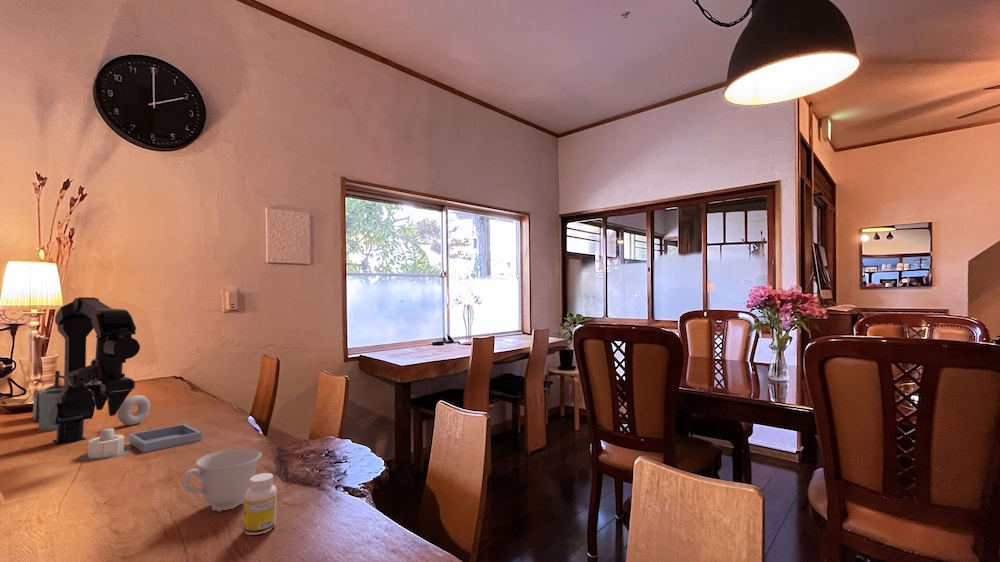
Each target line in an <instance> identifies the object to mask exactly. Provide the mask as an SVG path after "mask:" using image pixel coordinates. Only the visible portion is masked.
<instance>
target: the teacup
mask: <svg viewBox="0 0 1000 562" xmlns="http://www.w3.org/2000/svg"><path fill="white" fill-rule="evenodd" d="M262 456H263V453H262V452H261V451H260V450H259V449H256V448H251V447H250V448H249V447H241V448H240V447H238V448H229V449H223V450H218V451H215V452H212V453H211V452H210V453H208V454H206V455H203V456H202V457H200V458H198V459H197V460H196V461H195V464H194V465H195V467H197V468H191V469H189V470H187V471H186V472H185V473H184V475H183V477H182V479H181V486H182V487H183V489H184V491H186V492H188V493H193V494H194V493H198V494H201V495H202V498H203V499H204V501H205V502H206V503H208V504H211V507H212V509H216V510H220V509H228V508H232V507H235V506H238V505H239V504H241V503H242V502H243V503H244V499H245V494H246V492H247V491H248V490H249V489H250V487H249V483H250V478H251V477H252V476H255V475H256V471H257V465H258V461H259V459H260V458H261V457H262ZM193 475H195V478H196V479H198V480H200V486H201V487H200V488H199V487H193V486H191V485H190V484H189V480H190V478H191V476H193ZM212 509H211V510H212Z"/></svg>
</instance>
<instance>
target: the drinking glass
mask: <svg viewBox="0 0 1000 562" xmlns="http://www.w3.org/2000/svg"><path fill="white" fill-rule="evenodd" d="M63 389H64V388H61V389H51V390H45V389H44V390H45V391H42V390H40V391H41V392H39V408H40V409H39V410H40V411H39V415H40V417H39V422H38V430H39V431H41V430H43V432H47V431H48V432H50V431H49V430H52V431H57V425H53V424H51V423H49V414H50V412H51V410H52V408H53V406H54V404H56V398H57V396H58V395H59V394H60V392H61V391H62V390H63ZM58 419H60V418H58ZM44 430H45V431H44Z"/></svg>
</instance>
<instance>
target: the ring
mask: <svg viewBox="0 0 1000 562" xmlns="http://www.w3.org/2000/svg"><path fill="white" fill-rule="evenodd" d="M87 441H88V442H87V443H88V444H87V453H88V457H89V458H102V457H103V458H104V457H109V456H114V455H117V454H119V453H121V452H123V451H124V450H129V449H131V448H132V447H131V443H129V441H128V442H125V436H124V435H123V434H114V440H109V441H100V436H98V437H94V438H92V439H89V440H87Z"/></svg>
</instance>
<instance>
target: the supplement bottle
mask: <svg viewBox="0 0 1000 562" xmlns="http://www.w3.org/2000/svg"><path fill="white" fill-rule="evenodd" d="M273 483H274V475H273V474H272V473H270V472H264V473H258V474H255V476H252V477H251V478H250V483H249V487H250V489H249V490H248V491H247V492H246V494H245V497H244V510H243V511H244V513H243V515H244V518H243V532H244V531H245V533H248V534H255V533H261V532H264V531H267V530H268V529H271V528H272V527H273V526H275V524H276V525H277V506H278V505H277V501H278V500H277V499H278V488H277V487H276V485H274V484H273ZM275 527H276V526H275ZM245 533H244V534H245Z"/></svg>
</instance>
